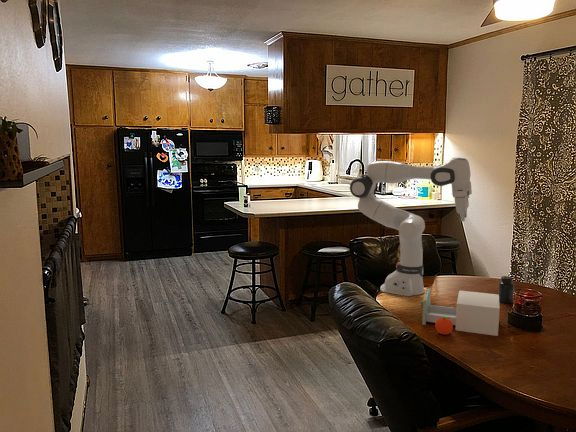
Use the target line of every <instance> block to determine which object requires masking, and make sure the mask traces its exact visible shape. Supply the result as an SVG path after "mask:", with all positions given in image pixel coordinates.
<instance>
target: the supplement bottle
mask: <svg viewBox="0 0 576 432" xmlns="http://www.w3.org/2000/svg"><path fill="white" fill-rule="evenodd" d="M497 291H498V293H497V294H498V295H499V303H501V304H502V303H503V304H513V303H514V301H513V294H514V295H515V284H514V282H513V276H509V275H504V276H501V278H500V282H499V283H498V290H497ZM512 302H513V303H512Z"/></svg>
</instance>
